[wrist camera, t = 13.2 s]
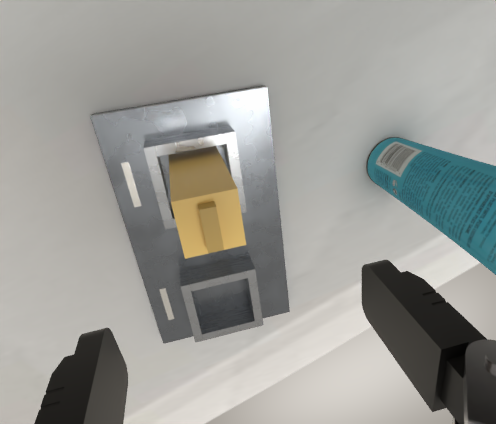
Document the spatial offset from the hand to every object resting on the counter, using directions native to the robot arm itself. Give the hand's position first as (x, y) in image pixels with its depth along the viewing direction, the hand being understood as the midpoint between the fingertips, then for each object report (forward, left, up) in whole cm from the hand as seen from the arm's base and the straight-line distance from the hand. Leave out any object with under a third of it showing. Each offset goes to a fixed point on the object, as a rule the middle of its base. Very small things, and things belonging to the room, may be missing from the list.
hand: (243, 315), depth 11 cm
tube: (-19, +5, -22) cm, 30 cm away
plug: (0, +2, -21) cm, 21 cm away
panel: (0, +8, -22) cm, 24 cm away
